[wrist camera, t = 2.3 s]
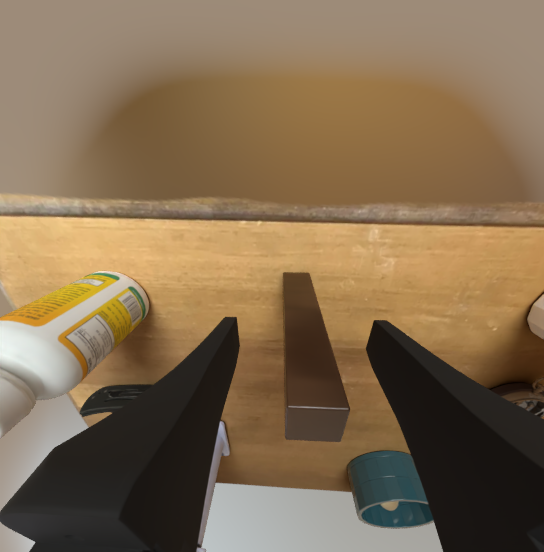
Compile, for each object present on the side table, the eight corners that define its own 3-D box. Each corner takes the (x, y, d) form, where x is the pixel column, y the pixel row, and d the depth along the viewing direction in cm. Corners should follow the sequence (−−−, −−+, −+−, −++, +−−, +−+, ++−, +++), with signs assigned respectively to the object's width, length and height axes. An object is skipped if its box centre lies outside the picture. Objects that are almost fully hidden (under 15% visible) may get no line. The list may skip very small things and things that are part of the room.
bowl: (342, 480, 31) (351, 526, 27) (353, 448, 26) (366, 497, 22) (407, 484, 30) (426, 530, 26) (429, 452, 26) (457, 502, 22)
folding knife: (102, 390, 23) (79, 418, 20) (97, 382, 22) (72, 410, 20) (182, 388, 22) (169, 417, 19) (179, 381, 21) (165, 410, 19)
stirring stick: (282, 294, 16) (285, 440, 7) (283, 271, 15) (286, 407, 6) (307, 294, 16) (341, 443, 7) (309, 272, 15) (351, 410, 6)
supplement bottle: (162, 297, 17) (35, 423, 8) (134, 330, 18) (5, 462, 10) (101, 254, 15) (-138, 354, 6) (77, 296, 17) (-133, 416, 8)
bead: (368, 483, 29) (377, 513, 27) (372, 474, 28) (382, 505, 25) (388, 484, 29) (399, 515, 27) (394, 475, 28) (406, 506, 25)
